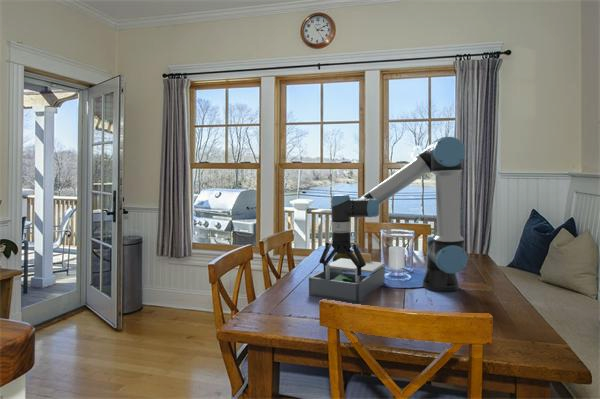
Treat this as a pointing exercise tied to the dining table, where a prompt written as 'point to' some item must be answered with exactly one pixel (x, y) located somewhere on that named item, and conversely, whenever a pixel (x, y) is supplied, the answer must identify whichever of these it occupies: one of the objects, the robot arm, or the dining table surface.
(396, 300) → the dining table surface
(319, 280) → the housing
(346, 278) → the clamp
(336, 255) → the fruit
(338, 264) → the lid
